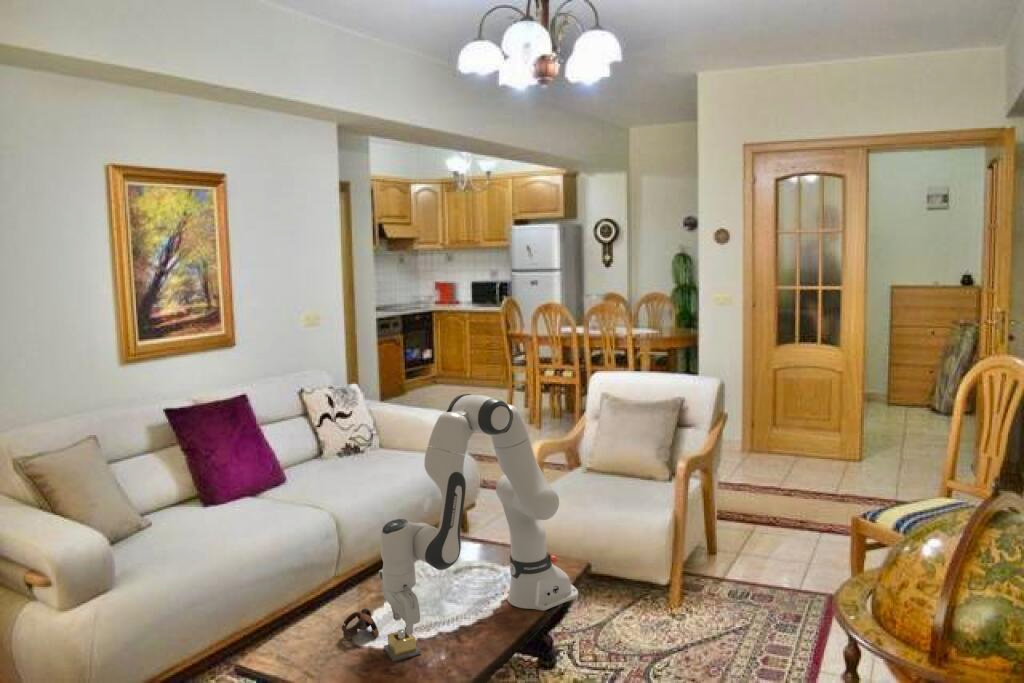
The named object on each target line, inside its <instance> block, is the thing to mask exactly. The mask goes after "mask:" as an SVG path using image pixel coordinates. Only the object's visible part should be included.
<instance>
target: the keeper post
mask: <svg viewBox="0 0 1024 683" xmlns="http://www.w3.org/2000/svg"><path fill="white" fill-rule="evenodd" d="M397 632H398V640H402V639H405V629H402V628H401V629H399V630H397ZM383 650H384V651H385V653H386V654H387V655H388V656H389V658H390V659H391V660H392V662H393V663H395V662H398V661H401V660H405V659H408V658H411V657H416V656H419V655H422V650H421V649H420V648H419V646H417V644H416V650H414V651H411V652H407V653H404V654H400V655H396V656H395V655H394V653H393V652H392V651H391V649H390V648H389V647H388V644H386V645H383Z"/></svg>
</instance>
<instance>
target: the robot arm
mask: <svg viewBox="0 0 1024 683" xmlns="http://www.w3.org/2000/svg"><path fill="white" fill-rule="evenodd" d="M528 432H529V431H528V430H527V427H526V423H525V421H524V419H523V417H522V414H521V413H520V411H519V409H518V408H517V407H516V406H515V405H512V404H508V403H506V402H504V401H503V400H502V399H499V398H497V397H491V396H488V395H483V394H478V395H477V394H470V393H465V394H460V395H457V396H456V397H454V398H453V399H452V400H451V402H450V404H449V405H448V408H447V410H446V412H443V413H442V414H440V415H439V416H438V418H437V419H436V422H435V424H434V427H433V428H432V431H431V434H430V438H429V439H428V444H427V447H426V451H425V455H424V470H425V472H426V474H427V475H428V477H429V479H431V480H432V481H433V482H434V483H435V485H436V486H437V488H438V489H439V491H440V493H441V499H442V503H441V511H440V517H439V518H440V519H439V524H438V528H437V527H435V526H433V525H430V524H428V523H425V522H411V521H408V520H407V519H404V518H397V519H392V520H390V521H388V522H387V523H385V524H384V526H383V527H381V528H382V529H381V533H380V556H381V559H382V562H383V564H382V568H381V569H380V570H378V578H380V580H381V581H380V582H381V588H382V593H383V597H384V599H385V601H386V602H387V603H388V604H389V605H390V608H391V612H392V616H393V617H392V618H393V619H394V621H397V622H398V621H400V620H401V619H402V620H403V621H404V623H405V626H404V630H405V633H406V634H407V635H410V634H412V635H413V634H414V630H413V629H414V625H416V624H419V623H420V622H421V612H420V611H421V610H420V605H419V599H418V596H417V595H416V593H415V592H414V591H413V590H412V589H413V588H414V587H415V586H416V584H417V582H416V581H417V580H416V567H415V563H416V562H417V561H422V562H424V563H427V564H428V565H429V566H431V567H433V568H434V569H436V570H439V571H444V570H447V569H448V568H451V567H452V566H453V565H455V564H456V562H457V561H458V559H459V557H460V554H461V550H462V547H461V546H462V543H461V528H462V523H463V522H462V521H463V514H464V507H465V498H466V497H465V496H466V487H467V486H466V479H465V476H464V463H465V457H466V453H467V449H468V445H469V440H470V438H471V437H472V436H473V434H483V435H484V434H486V435H488V436H491V442H492V445H493V449H494V452H495V455H496V459H497V462H498V465H499V469H500V471H502V473H503V475H502V476H500V477H499V479H498V480H497V482H496V485H495V494H496V496H497V498H498V499H499V502H500V503H501V506H502V509H503V512H504V515H505V518H506V519H505V520H506V521H507V527H508V530H509V542H510V556H509V572H510V584H509V591H508V595H507V599H506V600H507V601H508V603H509V605H512V606H514V607H516V608H520V609H526V610H527V609H530V610H531V609H532V610H537V611H546V610H549V609H551V608H554V607H557V606H559V605H561V604H564V603H567V602H568V601H571V600H573V599H576V598H578V597H579V591H578V589H577V588H576V586H574V585H573V584H572V583H571V580H570V578H569V575H568V574H567V573H566V572H565V571H564V570H562V569H561V568H560V567H558V566H556V565H554V564H557V563H558V561H559V559H558V556H555V555H553V554H552V555H551V553H549V552H547V536H546V535H547V534H546V529H545V527H544V525H543V524H542V521H548V520H551V519H552V518H553V517H554V516H555V515H556V514H557V513H558V510H559V507H560V499H559V498H560V497H559V495H558V492H556V491H555V490H554V489H553V487H552V486H551V484H550V483H549V482H548V480H547V478H546V476H545V474H544V473H543V471H542V469H541V467H540V465H539V463H538V461H537V458H536V456H535V454H534V450H533V447H532V443H531V439H530V436H529V433H528Z"/></svg>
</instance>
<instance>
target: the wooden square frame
mask: <svg viewBox="0 0 1024 683" xmlns="http://www.w3.org/2000/svg"><path fill="white" fill-rule="evenodd" d="M416 643H417V641H416V637H415V636H414V634H413V633H412V634H410V635H407V634H406V633H405V639H402V640H398V631H396V632H392V633H388V634H387V645H388V647H389V648H390V649H391V651H392V652H393V653H394V655H395V656H396V655H400V654H404V653H407V652H411V651H414V650H416V645H417V644H416Z"/></svg>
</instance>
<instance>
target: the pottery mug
mask: <svg viewBox="0 0 1024 683" xmlns="http://www.w3.org/2000/svg"><path fill="white" fill-rule="evenodd" d="M356 618H357V619H358V621H357V622H356V623H355V624H354V625H353V626H351V627H349V628H348V625H349V624H350V622H352V621H353V620H354V619H356ZM369 627H370V628H371V631H372V630H374V631H373V632H372V634H373V635H374V638H375V639H376V638H377V637H379V635H380V632H379V629H378V626H377V624H376V622H375V620H374V618H372V614H371V611H370V609H369V608H366V607H365V608H362V609H361V610H359V611H358V610H357V611H355V612H352V613H351V614H350V615H348V617H346V619H344V621H343V625H342V626H341V631H342V632H343V634H342V635H343V637H344V638H346V639H348V638H353V637H356V638H358V637H359V634H358V633H359V630H360V631H365V630H368V628H369ZM377 639H378V638H377Z"/></svg>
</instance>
